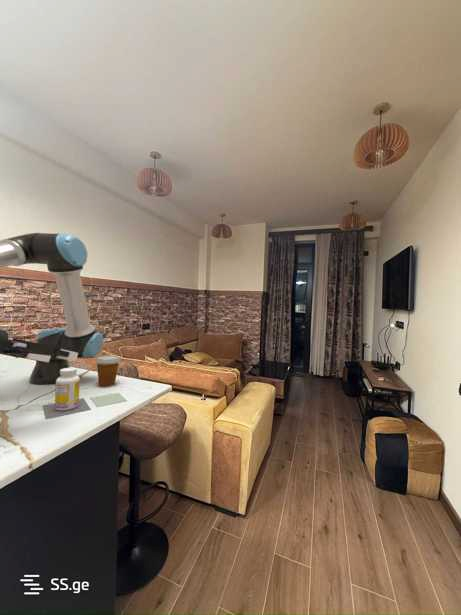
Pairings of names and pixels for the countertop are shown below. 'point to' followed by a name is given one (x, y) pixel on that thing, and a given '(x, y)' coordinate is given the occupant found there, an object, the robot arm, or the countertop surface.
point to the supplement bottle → (67, 390)
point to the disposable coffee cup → (107, 370)
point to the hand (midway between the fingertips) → (62, 357)
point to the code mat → (52, 412)
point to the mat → (108, 399)
